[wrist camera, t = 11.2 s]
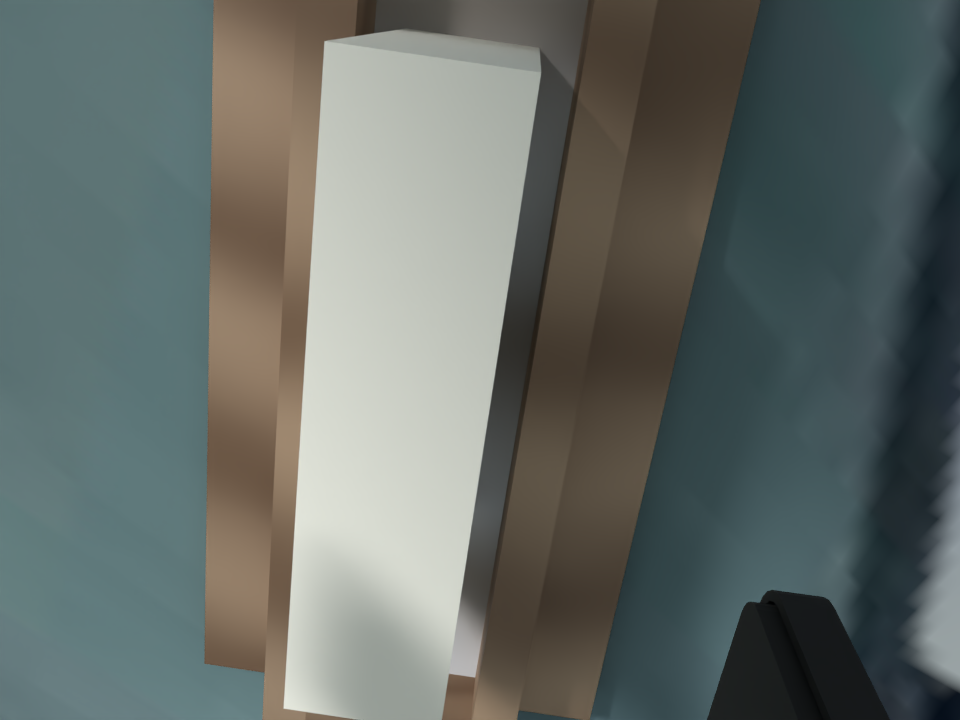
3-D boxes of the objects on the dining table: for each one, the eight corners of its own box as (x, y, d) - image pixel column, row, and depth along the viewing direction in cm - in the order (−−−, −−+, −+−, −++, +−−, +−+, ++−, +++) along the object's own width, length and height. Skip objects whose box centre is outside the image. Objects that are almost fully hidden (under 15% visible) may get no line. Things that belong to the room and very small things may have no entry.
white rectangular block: (405, 28, 19) (324, 40, 12) (539, 47, 19) (541, 72, 12) (362, 491, 24) (283, 708, 16) (469, 507, 24) (439, 731, 16)
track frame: (235, -362, 18) (170, -442, 15) (815, -280, 18) (875, -341, 15) (215, 641, 28) (174, 722, 24) (587, 697, 28) (594, 785, 24)
